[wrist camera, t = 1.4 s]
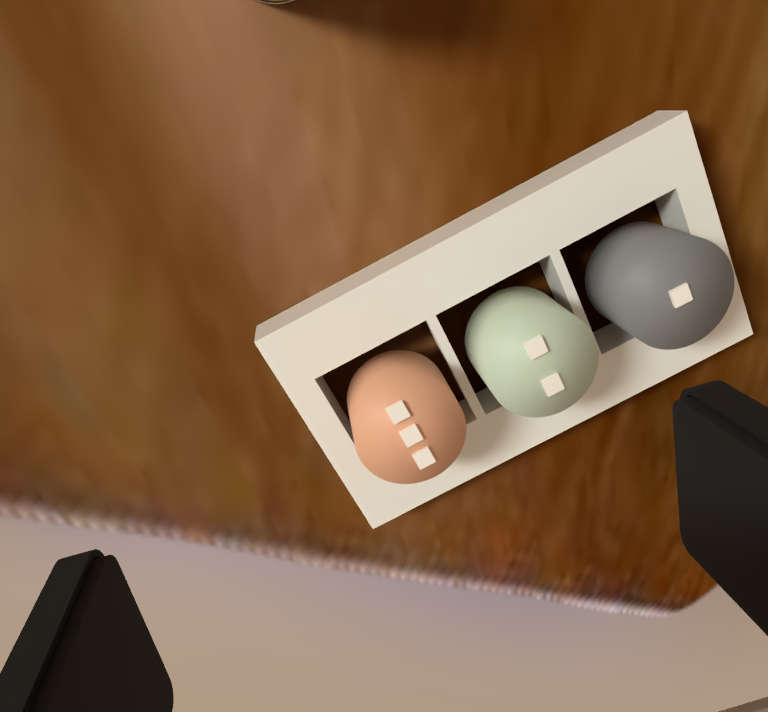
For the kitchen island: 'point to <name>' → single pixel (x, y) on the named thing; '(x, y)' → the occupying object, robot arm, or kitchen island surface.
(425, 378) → the button
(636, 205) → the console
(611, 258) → the button
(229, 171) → the kitchen island surface
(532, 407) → the button
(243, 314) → the kitchen island surface
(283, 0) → the supplement bottle
